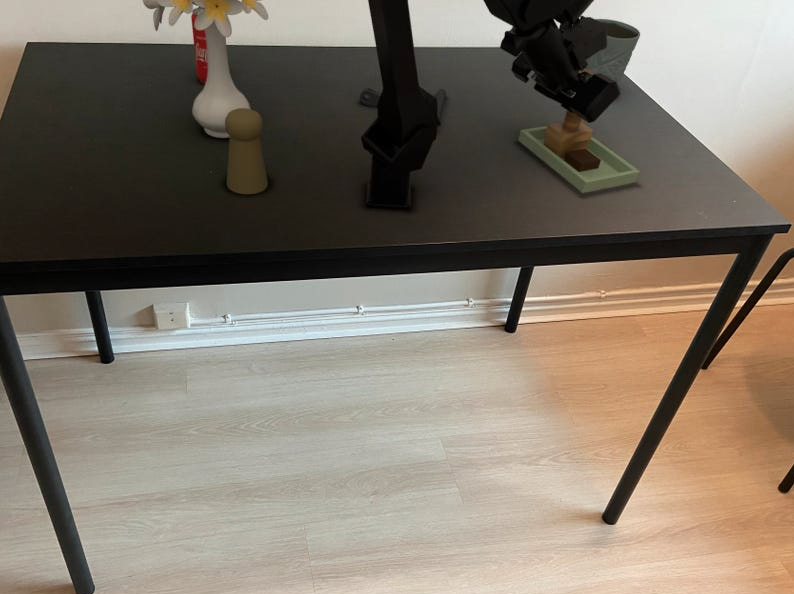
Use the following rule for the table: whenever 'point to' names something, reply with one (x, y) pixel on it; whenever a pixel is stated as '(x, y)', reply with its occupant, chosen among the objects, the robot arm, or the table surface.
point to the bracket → (376, 95)
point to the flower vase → (212, 56)
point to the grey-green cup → (614, 50)
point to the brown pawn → (245, 152)
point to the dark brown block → (582, 160)
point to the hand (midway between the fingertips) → (581, 110)
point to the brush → (568, 133)
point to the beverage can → (200, 49)
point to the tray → (605, 176)
